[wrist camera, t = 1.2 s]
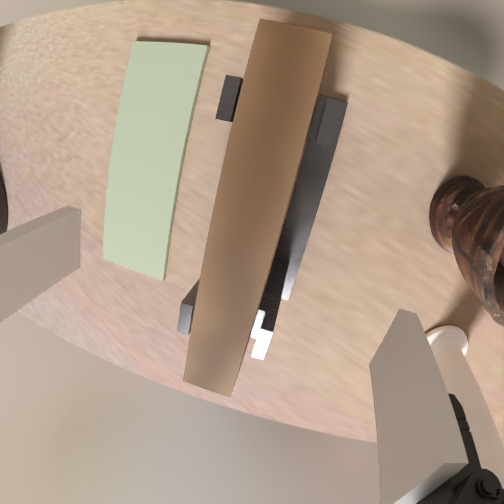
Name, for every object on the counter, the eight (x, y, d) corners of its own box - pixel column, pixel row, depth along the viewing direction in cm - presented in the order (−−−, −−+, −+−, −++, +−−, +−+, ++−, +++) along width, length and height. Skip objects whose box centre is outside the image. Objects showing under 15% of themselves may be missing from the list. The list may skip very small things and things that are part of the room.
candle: (475, 345, 29) (547, 526, 7) (430, 381, 32) (469, 566, 9) (448, 313, 29) (536, 523, 6) (400, 353, 32) (436, 570, 9)
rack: (212, 272, 32) (162, 342, 21) (256, 80, 25) (214, 46, 14) (288, 296, 32) (271, 379, 21) (346, 103, 24) (369, 81, 13)
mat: (105, 257, 34) (102, 258, 34) (136, 42, 25) (133, 41, 24) (165, 278, 34) (162, 281, 33) (209, 47, 24) (207, 45, 24)
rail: (198, 351, 24) (183, 380, 20) (270, 38, 15) (259, 18, 12) (241, 365, 23) (229, 397, 20) (329, 51, 15) (332, 34, 11)
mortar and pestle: (379, 224, 27) (462, 379, 9) (414, 137, 24) (574, 162, 6) (472, 267, 27) (577, 405, 8) (506, 191, 23) (652, 275, 5)
